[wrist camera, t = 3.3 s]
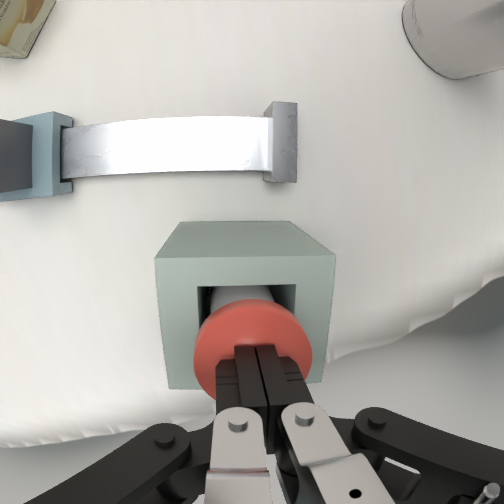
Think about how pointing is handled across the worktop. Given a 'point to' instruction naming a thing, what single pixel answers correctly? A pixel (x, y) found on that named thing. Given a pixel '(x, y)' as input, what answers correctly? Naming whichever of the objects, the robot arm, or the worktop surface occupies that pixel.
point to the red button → (246, 331)
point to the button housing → (240, 283)
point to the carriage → (32, 157)
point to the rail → (185, 145)
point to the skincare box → (21, 25)
